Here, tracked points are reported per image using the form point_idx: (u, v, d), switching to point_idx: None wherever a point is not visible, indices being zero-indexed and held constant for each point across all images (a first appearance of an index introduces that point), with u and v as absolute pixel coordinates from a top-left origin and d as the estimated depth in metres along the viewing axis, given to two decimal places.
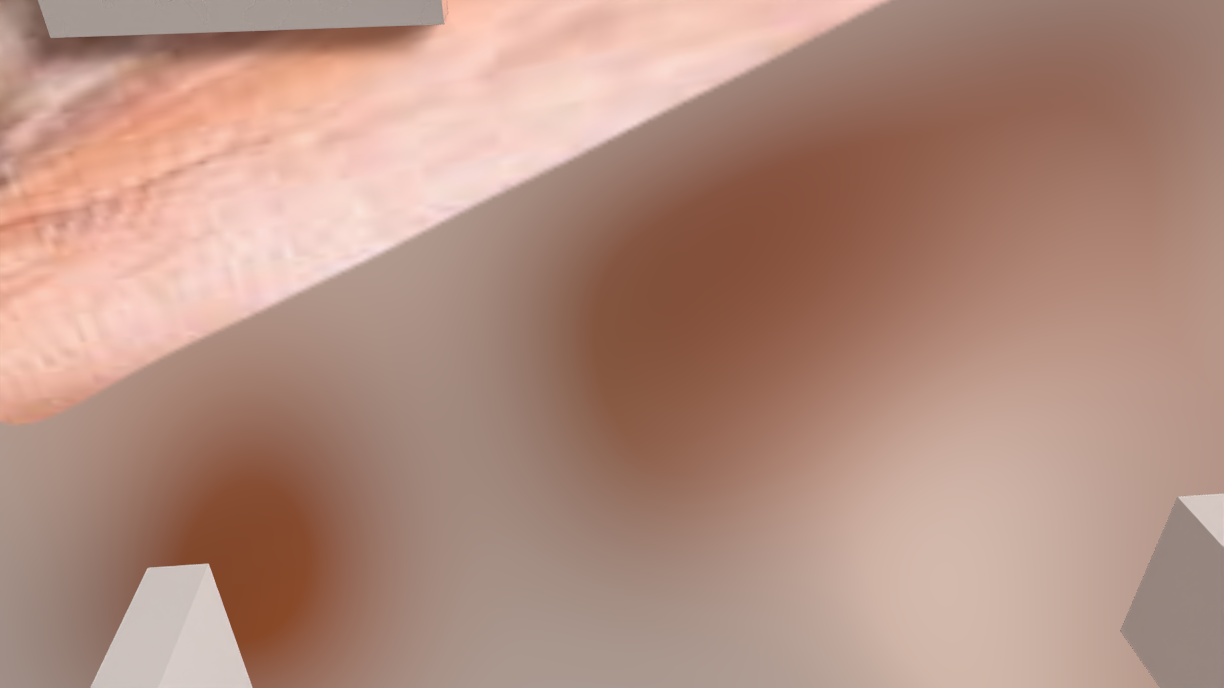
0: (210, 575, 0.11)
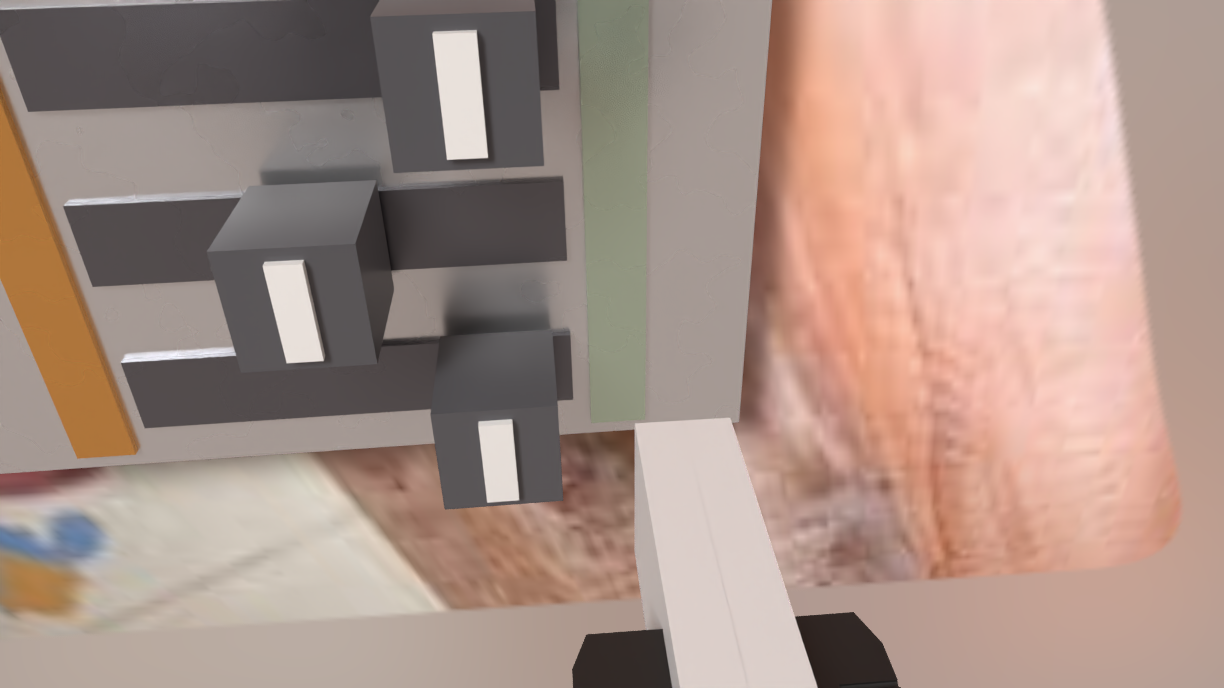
0: None
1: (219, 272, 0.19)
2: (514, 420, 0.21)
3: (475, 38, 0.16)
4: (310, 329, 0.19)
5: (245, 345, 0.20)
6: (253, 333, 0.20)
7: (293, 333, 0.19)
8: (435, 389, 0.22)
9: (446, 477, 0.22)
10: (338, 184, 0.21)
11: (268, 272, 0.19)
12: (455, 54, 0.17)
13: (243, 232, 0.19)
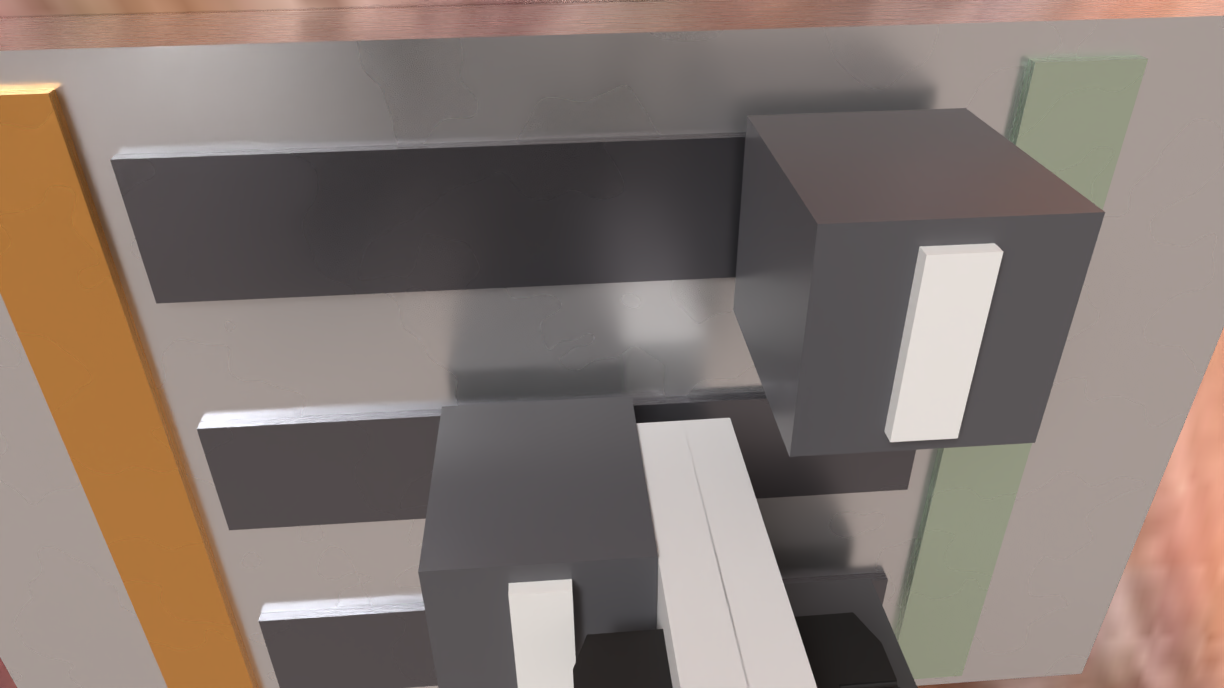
0: None
1: (433, 597, 0.11)
2: None
3: (999, 261, 0.09)
4: (566, 673, 0.12)
5: None
6: (472, 674, 0.12)
7: (538, 678, 0.12)
8: None
9: None
10: (577, 404, 0.14)
11: (516, 603, 0.11)
12: (956, 286, 0.09)
13: (465, 520, 0.12)
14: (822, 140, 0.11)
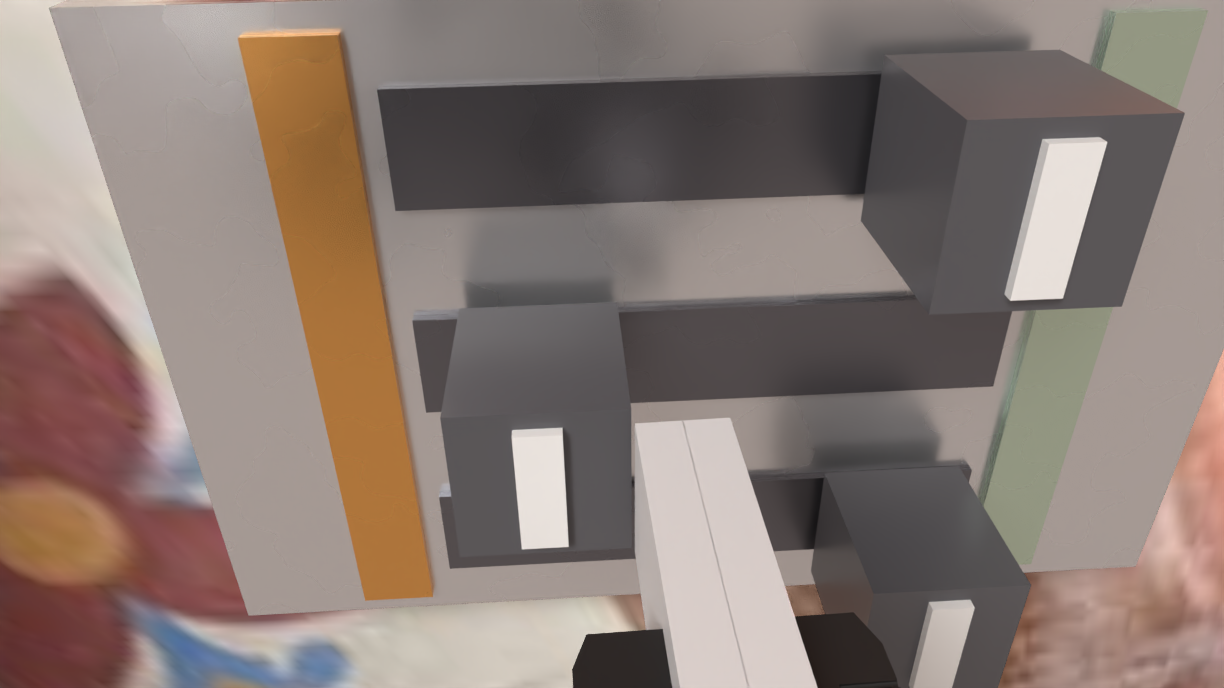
0: None
1: (452, 442, 0.14)
2: (972, 602, 0.17)
3: (1103, 149, 0.12)
4: (558, 510, 0.15)
5: (471, 526, 0.15)
6: (483, 512, 0.15)
7: (536, 515, 0.15)
8: (860, 554, 0.18)
9: None
10: (571, 307, 0.17)
11: (517, 445, 0.14)
12: (1070, 170, 0.12)
13: (477, 385, 0.15)
14: (951, 70, 0.14)
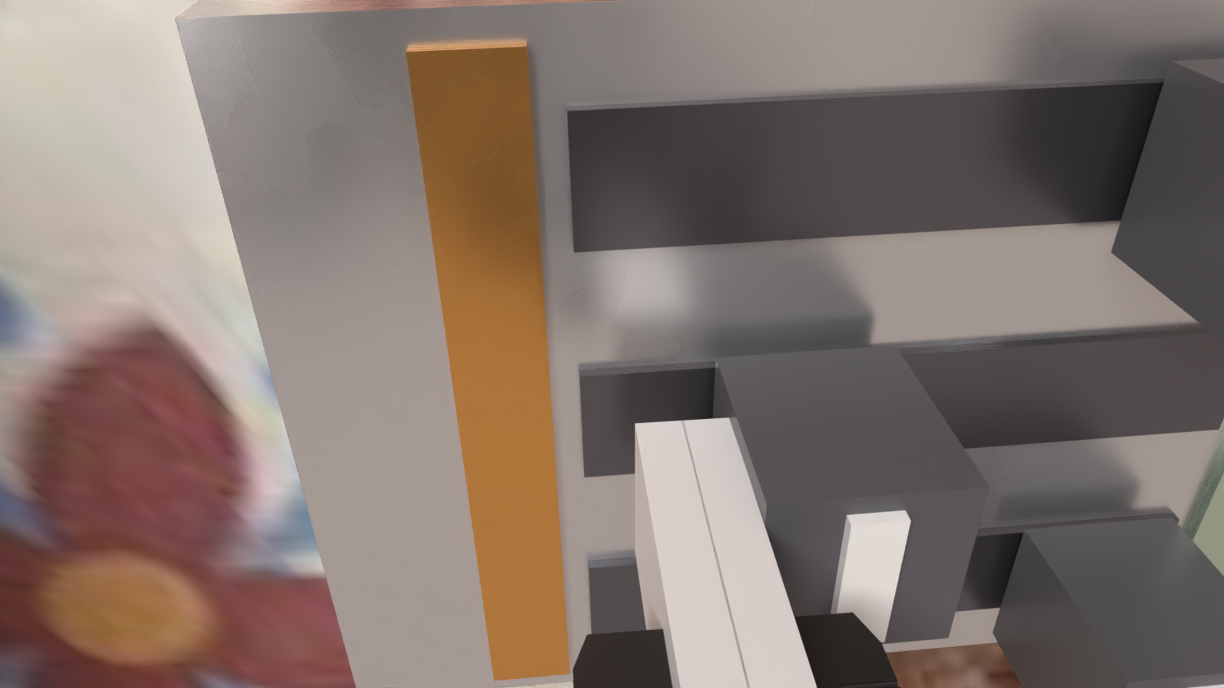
0: None
1: (773, 530, 0.12)
2: None
3: None
4: (883, 603, 0.13)
5: None
6: None
7: (856, 609, 0.13)
8: (1097, 631, 0.15)
9: None
10: (846, 353, 0.15)
11: (856, 533, 0.12)
12: None
13: (790, 458, 0.12)
14: None
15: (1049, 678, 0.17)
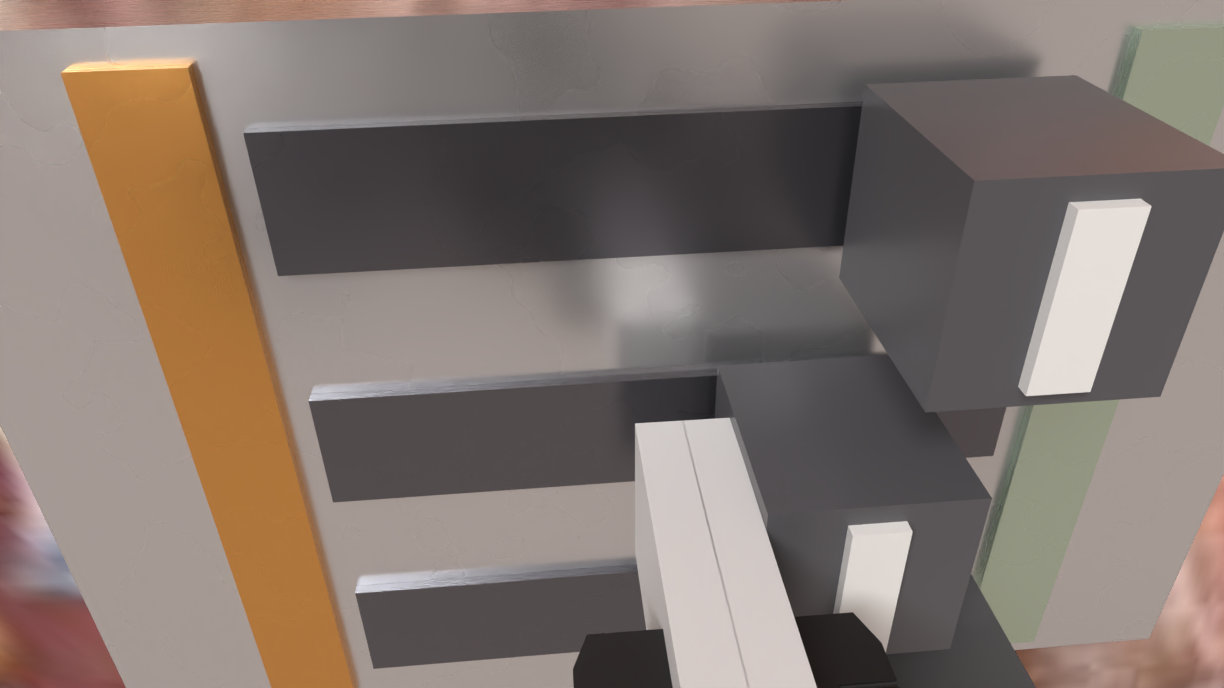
0: None
1: (774, 540, 0.12)
2: None
3: (1146, 215, 0.09)
4: (884, 614, 0.13)
5: None
6: None
7: None
8: None
9: None
10: (848, 363, 0.15)
11: (858, 544, 0.12)
12: (1103, 240, 0.10)
13: (790, 467, 0.12)
14: (948, 106, 0.11)
15: None
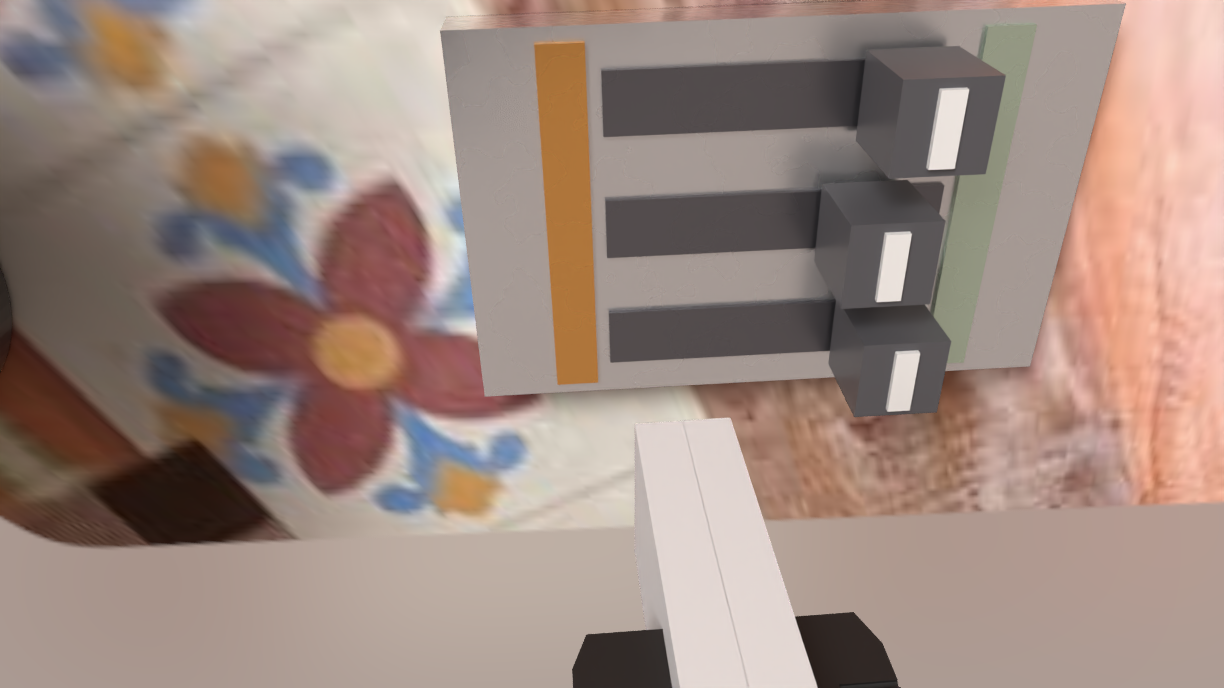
0: None
1: (853, 239, 0.28)
2: (919, 351, 0.31)
3: (967, 93, 0.26)
4: (900, 278, 0.29)
5: (851, 289, 0.29)
6: (859, 281, 0.29)
7: (888, 281, 0.29)
8: (857, 330, 0.31)
9: (862, 392, 0.31)
10: (884, 182, 0.31)
11: (889, 239, 0.28)
12: (952, 103, 0.26)
13: (859, 213, 0.29)
14: (899, 57, 0.28)
15: (845, 369, 0.33)
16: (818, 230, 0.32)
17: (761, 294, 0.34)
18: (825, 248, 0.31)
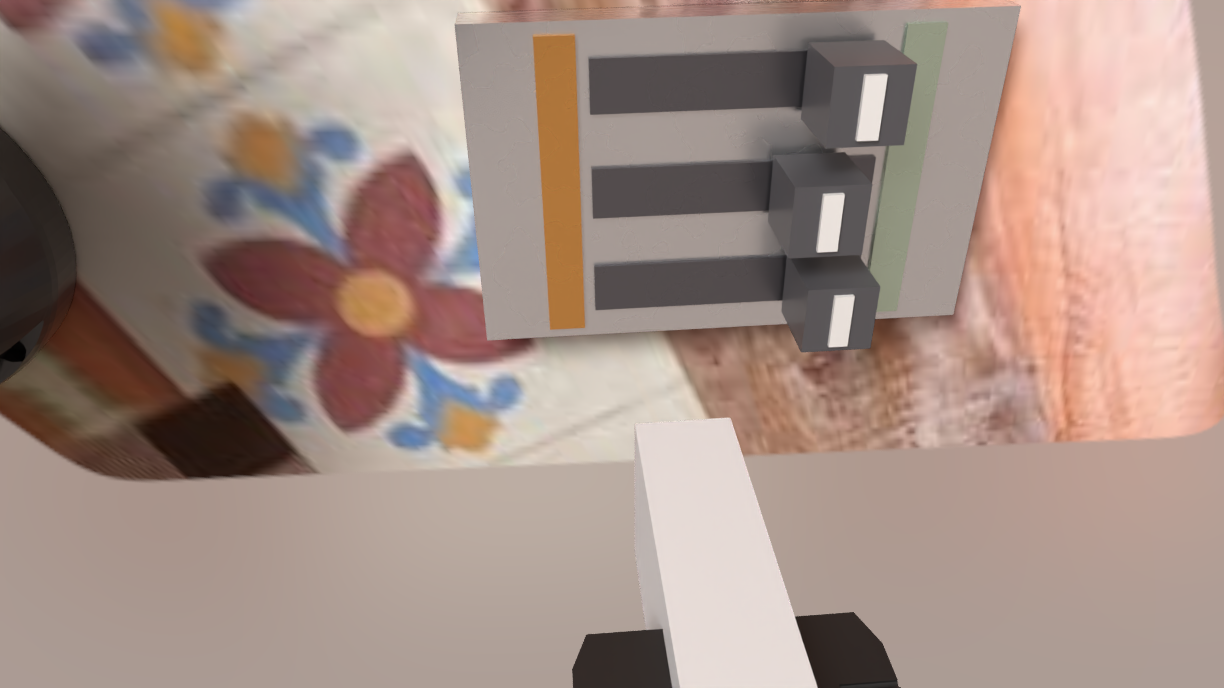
0: None
1: (797, 199, 0.34)
2: (854, 295, 0.37)
3: (886, 78, 0.32)
4: (836, 232, 0.35)
5: (796, 242, 0.35)
6: (802, 235, 0.35)
7: (826, 234, 0.35)
8: (803, 278, 0.37)
9: (807, 331, 0.38)
10: (825, 154, 0.37)
11: (826, 199, 0.34)
12: (874, 86, 0.32)
13: (803, 178, 0.35)
14: (834, 48, 0.34)
15: (794, 313, 0.39)
16: (770, 194, 0.38)
17: (724, 251, 0.40)
18: (776, 209, 0.37)
